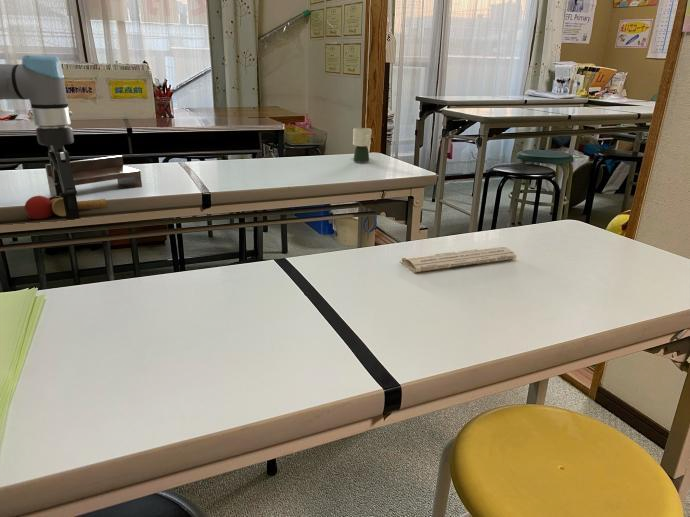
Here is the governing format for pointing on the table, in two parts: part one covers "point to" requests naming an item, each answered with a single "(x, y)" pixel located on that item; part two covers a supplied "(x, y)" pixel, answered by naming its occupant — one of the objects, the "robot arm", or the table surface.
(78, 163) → the shelf
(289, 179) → the table surface
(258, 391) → the table surface
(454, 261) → the newspaper
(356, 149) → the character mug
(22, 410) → the table surface
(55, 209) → the kendama
